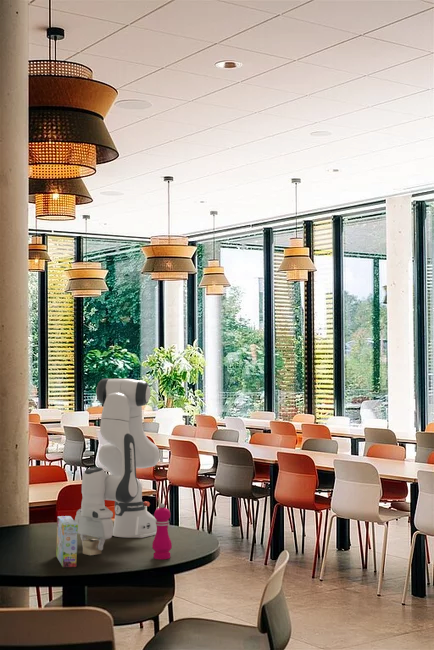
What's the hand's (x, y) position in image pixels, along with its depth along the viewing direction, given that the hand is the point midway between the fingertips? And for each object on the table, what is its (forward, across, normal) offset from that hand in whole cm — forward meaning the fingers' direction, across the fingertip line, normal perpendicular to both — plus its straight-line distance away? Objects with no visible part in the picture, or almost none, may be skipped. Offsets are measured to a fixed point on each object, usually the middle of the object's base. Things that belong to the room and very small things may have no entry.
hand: (92, 548), depth 345 cm
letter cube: (+2, 0, 0) cm, 2 cm away
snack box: (+2, +6, -16) cm, 17 cm away
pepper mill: (+2, +24, +14) cm, 28 cm away
